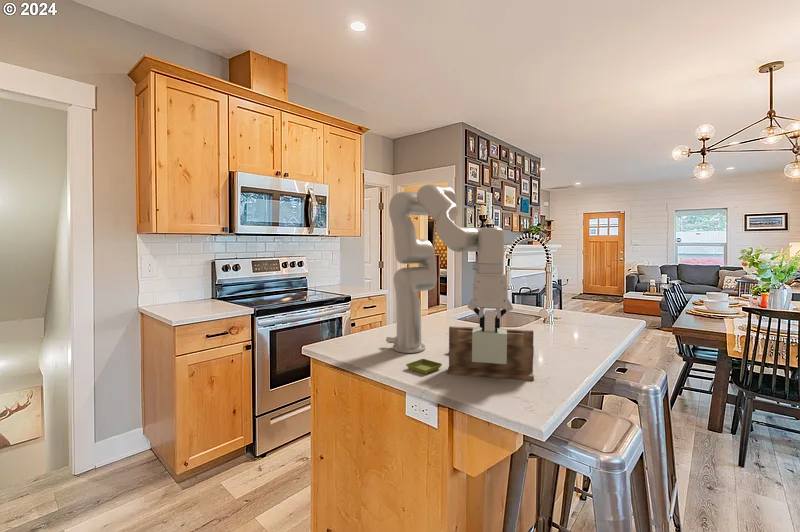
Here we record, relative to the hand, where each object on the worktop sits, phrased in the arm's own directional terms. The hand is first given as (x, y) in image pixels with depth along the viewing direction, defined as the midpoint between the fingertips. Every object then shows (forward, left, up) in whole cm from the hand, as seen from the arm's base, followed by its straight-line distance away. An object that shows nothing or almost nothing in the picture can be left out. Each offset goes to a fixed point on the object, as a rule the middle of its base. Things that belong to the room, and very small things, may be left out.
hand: (489, 329), depth 119 cm
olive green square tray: (-21, +5, -16) cm, 27 cm away
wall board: (0, +5, -15) cm, 16 cm away
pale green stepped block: (0, +2, -9) cm, 10 cm away
